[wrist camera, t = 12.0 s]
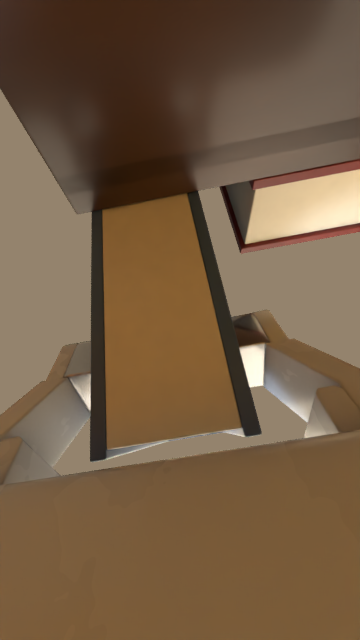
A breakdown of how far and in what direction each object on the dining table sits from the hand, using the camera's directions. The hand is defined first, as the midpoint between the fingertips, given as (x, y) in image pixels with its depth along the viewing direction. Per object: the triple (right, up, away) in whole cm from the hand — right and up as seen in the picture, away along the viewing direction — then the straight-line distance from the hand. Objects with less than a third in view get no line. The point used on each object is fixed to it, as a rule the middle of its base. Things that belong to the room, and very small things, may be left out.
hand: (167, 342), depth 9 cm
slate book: (-1, +7, +1) cm, 7 cm away
